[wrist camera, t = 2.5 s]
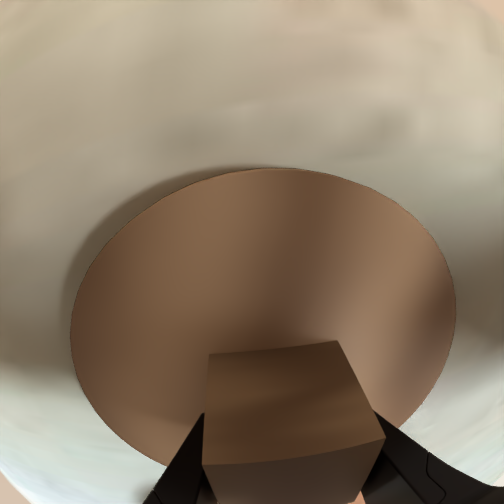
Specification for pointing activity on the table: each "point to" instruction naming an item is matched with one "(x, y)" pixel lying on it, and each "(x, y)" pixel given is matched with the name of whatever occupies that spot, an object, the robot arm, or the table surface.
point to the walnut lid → (265, 330)
